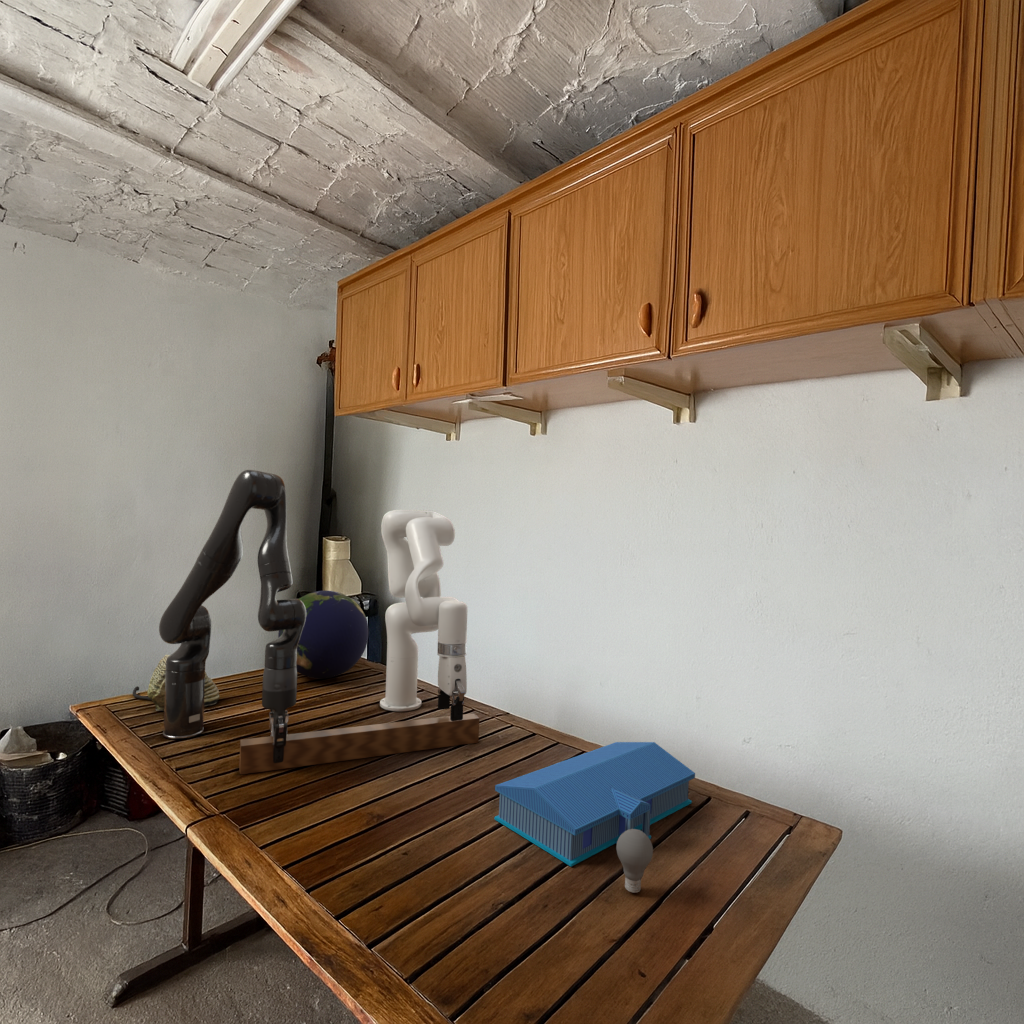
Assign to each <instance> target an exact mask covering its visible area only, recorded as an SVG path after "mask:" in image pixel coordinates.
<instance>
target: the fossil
mask: <svg viewBox="0 0 1024 1024" xmlns="http://www.w3.org/2000/svg"><path fill="white" fill-rule="evenodd" d="M170 655H171V654H165V655H164V656H163V657H162V658H161V659H160V660H159V662H158V663H157V666H156V667H155V669H154V670H153V672H152V675H151V677H150V680H149V684H148V688H147V697H149V698H150V699H151V700H150V701H152V703H153V704H154V706H155V711H158V712H159V711H162V712H163V711H164V705H165V674H166V660H167V658H168V657H169V656H170ZM220 698H221V696H220V690H219V688H218V686H217V685H216V683H215V682H214V681H213V679H212V678H211V677H209V675H208V674H207V672H206V671H205V693H204V707H207V706H213V705H215V704H217V703H218V701H219V699H220Z"/></svg>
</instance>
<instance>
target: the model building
mask: <svg viewBox="0 0 1024 1024" xmlns="http://www.w3.org/2000/svg"><path fill="white" fill-rule="evenodd" d="M695 778H696V772H694V771H693V770H692V769H690V768H689V767H688V766H687V765H685V764H684V763H683V762H681V761H680V760H678V758H676V757H675V756H674V755H672V754H670V753H669V752H668V751H667V750H665V749H664V748H663V747H662V746H660V745H659V744H658V743H656V742H655V741H615V742H613V743H610V744H606V745H603V746H601V747H599V748H596V749H594V750H590V751H587V752H584V753H582V754H579V755H576V756H573V757H570V758H567V759H565V760H562V761H560V762H559V761H558V762H556V763H553V764H551V765H549V766H548V765H547V766H546V767H543V768H541V769H537V770H534V771H531V772H529V773H526V774H523V775H520V776H518V777H515V778H511V779H509V780H507V781H503V782H501V783H498V784H495V785H494V791H495V792H496V793H498V794H499V801H498V802H499V803H498V804H499V805H498V814H497V815H495V816H494V818H493V819H494V821H496V822H498V823H499V824H501V825H503V826H505V827H506V828H508V829H509V830H510V831H513V832H514V833H515V834H517V835H519V836H520V837H522V838H524V839H525V840H527V841H529V842H530V843H532V844H534V845H535V846H537V847H538V848H540V849H542V850H543V851H545V852H546V853H548V854H550V855H551V856H552V857H555V858H556V859H558V860H559V861H561V862H563V863H564V864H566V865H567V866H569V867H572V868H573V866H575V865H577V864H579V863H582V862H583V861H585V860H587V859H589V858H590V857H593V856H594V855H596V854H598V853H600V852H602V851H604V850H606V849H607V848H608V849H609V848H610V847H612V846H613V845H615V844H616V845H617V841H618V839H619V837H620V835H621V834H622V833H623V832H625V831H627V830H629V829H637V830H640V831H642V832H644V833H645V834H646V835H647V836H648V838H649V839H650V840H652V835H651V834H650V829H651V828H650V827H651V825H653V824H655V823H657V822H658V821H661V820H663V819H665V818H666V817H668V816H670V815H672V814H674V813H675V812H678V811H679V810H681V809H683V808H685V807H687V806H689V805H691V804H693V800H691V799H689V786H690V785H689V784H690V783H689V782H690V781H692V780H693V779H695Z"/></svg>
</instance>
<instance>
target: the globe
mask: <svg viewBox="0 0 1024 1024" xmlns="http://www.w3.org/2000/svg"><path fill="white" fill-rule="evenodd" d="M298 599H299V600H301V601H302V602H303V604H304V605H305V608H306V621H305V624H304V627H303V630H302V633H301V637H300V640H299V644H298V647H297V664H296V668H297V674H300V675H302V676H303V677H307V678H310V679H316V680H324V679H331V678H335V677H338V676H340V675H342V674H344V673H346V672H348V671H349V670H351V669H352V668H353V667H354V666H355V665H357V663H358V662H359V661H360V660H361V658H362V656H363V654H364V652H365V650H366V648H367V645H368V641H369V623H368V620H367V617H366V614H365V612H364V611H363V609H362V608H361V606H360V605H359V604H358V603H357V602H356V600H354V599H353V598H351V597H350V596H348V595H346V594H344V593H341V592H339V591H335V590H318V591H312V592H309V593H307V594H305V595H302V596H301V597H299V598H298ZM283 632H284V630H280V631H278V635H277V638H279V637H280V636H281V635H282V634H283Z"/></svg>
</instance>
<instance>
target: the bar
mask: <svg viewBox="0 0 1024 1024" xmlns="http://www.w3.org/2000/svg"><path fill="white" fill-rule="evenodd" d="M479 736H480V717H479V716H478V715H477V714H476V713H463V719H462V720H457V721H451V720H450V715H448V716H447V715H446V716H437V717H430V718H420V719H411V720H402V721H393V722H384V723H377V724H367V725H359V726H349V727H348V726H347V727H340V728H333V729H322V730H313V731H305V732H297V733H287V735H286V746H284V757H283V762H280V763H274V762H273V736H271V735H270V736H269V735H268V736H261V737H253V738H243V739H240V740H239V760H238V761H239V763H238V769H239V775H247V774H254V773H255V774H256V773H262V772H269V771H276V770H277V771H278V770H284V769H291V768H301V767H309V766H313V765H323V764H330V763H336V762H343V761H352V760H359V759H365V758H367V759H368V758H373V757H382V756H387V755H397V754H402V753H410V752H418V751H425V750H433V749H439V748H447V747H456V746H462V745H470V744H476V743H479V742H480V741H479V739H480V737H479ZM277 741H282V739H277Z"/></svg>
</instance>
